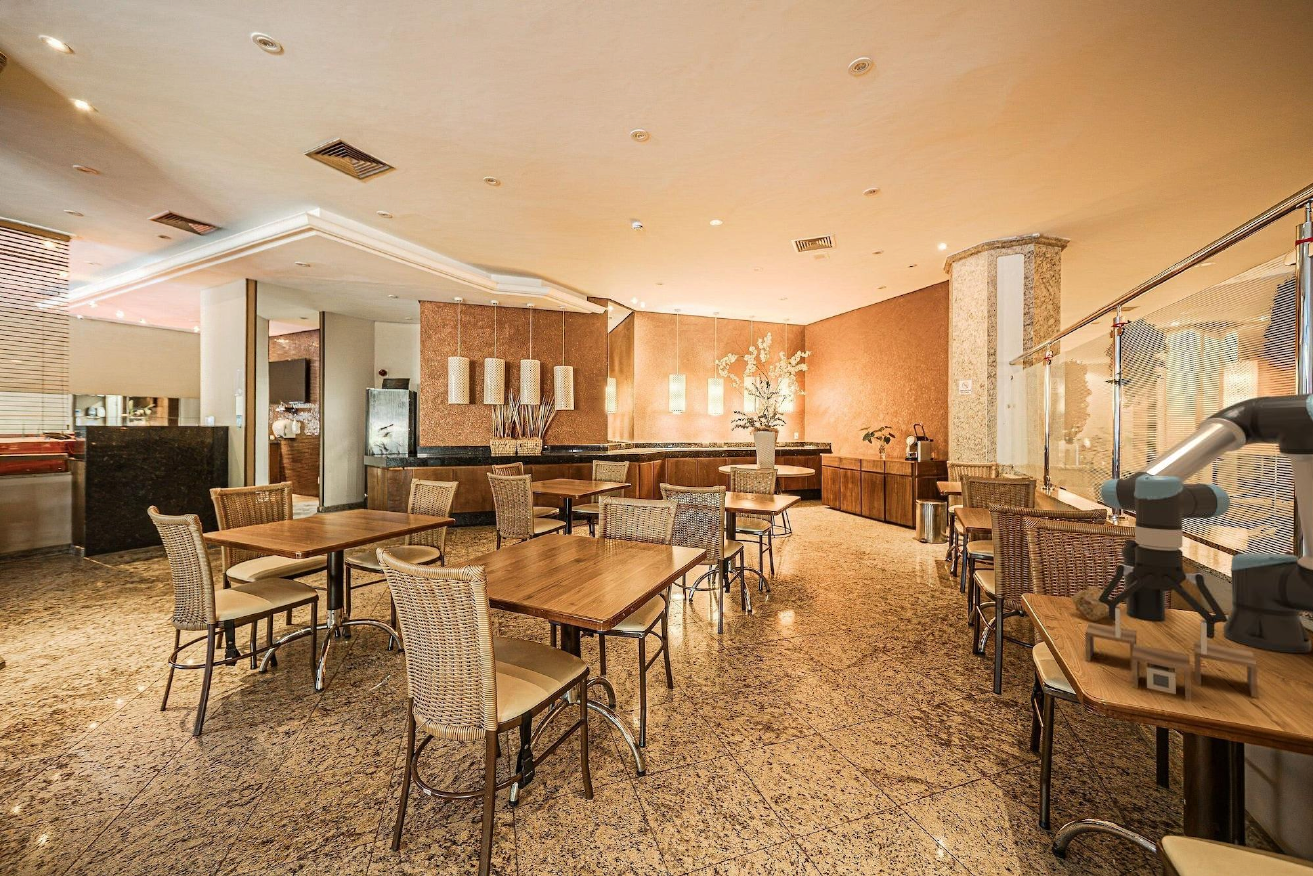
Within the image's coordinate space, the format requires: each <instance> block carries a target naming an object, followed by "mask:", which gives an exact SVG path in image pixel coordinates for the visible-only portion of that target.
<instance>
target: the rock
mask: <svg viewBox="0 0 1313 876" xmlns="http://www.w3.org/2000/svg"><path fill="white" fill-rule="evenodd" d="M1103 591H1104V590H1101V588H1099V587H1098V586H1094V585H1093V586H1092V585H1091V586H1090V587H1088V588H1087V589H1085V590H1084V589H1083V590H1079V591H1078V592H1076V593H1074V594H1073V595H1072V596H1071V597H1070V600H1071V601H1072V602H1073V604H1074V605H1075V611H1077V612H1079V613H1080V614H1081V615H1084V616H1085V617H1086V618H1087V619H1088V620H1090V621H1093V622H1095V621H1096V622H1097V621H1099V620H1100V619H1107V618H1109V607H1108V605H1106V604H1104V603H1101V602H1099V600H1098V599H1099V597H1100V595H1101V594H1102V593H1103ZM1108 598H1109V599H1112V598H1111V597H1110V596H1109V597H1108Z"/></svg>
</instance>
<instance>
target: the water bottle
mask: <svg viewBox="0 0 1313 876" xmlns="http://www.w3.org/2000/svg"><path fill="white" fill-rule="evenodd" d="M1124 542H1125V546H1124V547H1122V549H1121V555H1122V557H1123V564H1124V565H1126V566H1131V567H1134V566H1135V564H1136V557H1135V547H1137V545H1139V544H1137V543H1136V542H1135V539H1126V540H1125V541H1124ZM1136 580H1138V578H1137V577H1136V576H1135V574H1134V573H1133V572H1129V573H1128V575H1124V585H1125V586H1124V587H1125V589H1126V588H1127V587H1129V586H1130V585H1131V584H1133V583H1134V582H1135V581H1136ZM1125 589H1124V590H1125ZM1166 595H1167V591H1163V590H1160V589H1149V588H1147V587H1146V586H1143V587H1142V588H1140V589H1138V590H1137V591H1136V592H1134V593H1133V594H1132V595H1130V596H1129V597H1127V598H1126V599H1125V603H1126V615H1127V616H1129V617H1131V618H1133V619H1137V620H1141V621H1147V622H1156V623H1157V622H1165V621H1166V600H1167V598H1166V597H1167V596H1166Z"/></svg>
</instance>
